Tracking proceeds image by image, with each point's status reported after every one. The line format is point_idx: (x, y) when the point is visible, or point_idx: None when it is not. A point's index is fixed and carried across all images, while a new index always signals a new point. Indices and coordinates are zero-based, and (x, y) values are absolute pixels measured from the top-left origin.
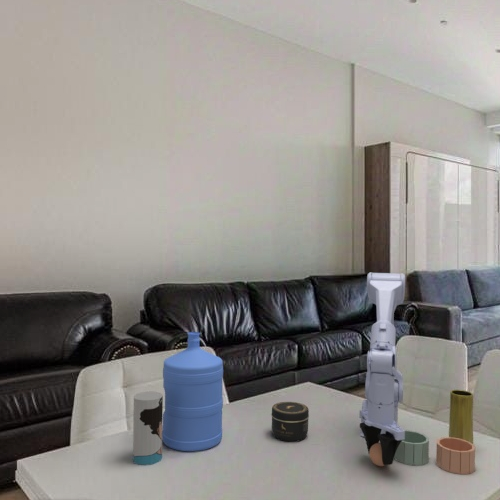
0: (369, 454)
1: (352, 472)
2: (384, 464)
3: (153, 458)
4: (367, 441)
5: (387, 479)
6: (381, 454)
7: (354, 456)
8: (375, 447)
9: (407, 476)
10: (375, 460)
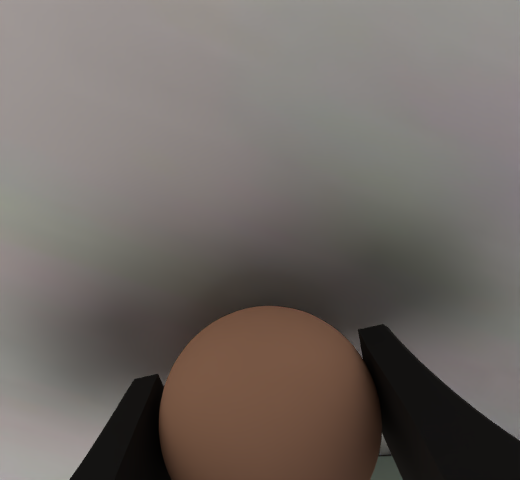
0: (295, 326)
1: (159, 53)
2: (136, 382)
3: None
4: (422, 414)
5: (30, 318)
6: (168, 434)
7: (487, 196)
8: (246, 444)
9: (91, 447)
10: (196, 337)
